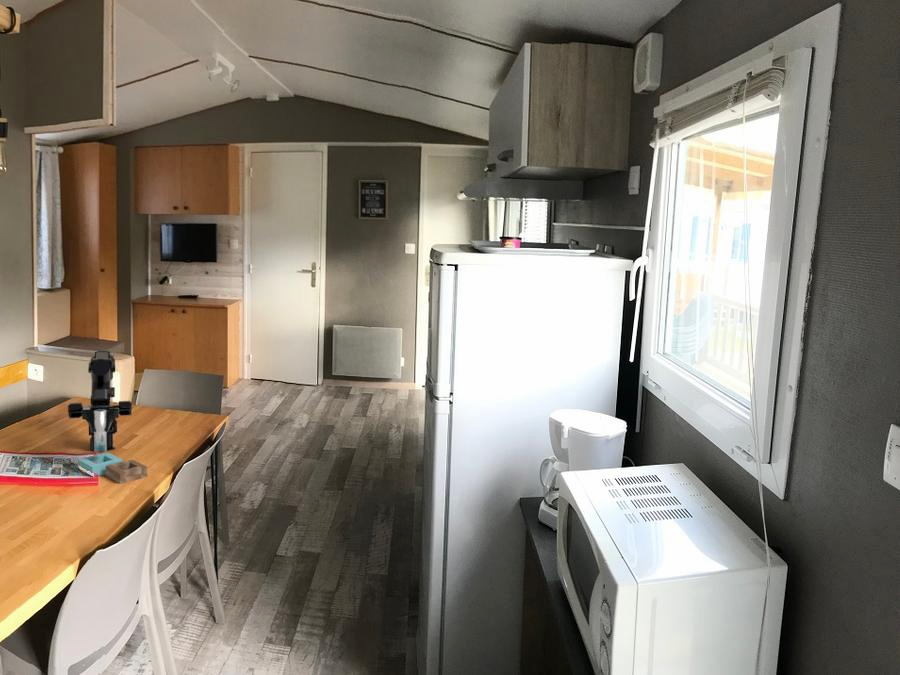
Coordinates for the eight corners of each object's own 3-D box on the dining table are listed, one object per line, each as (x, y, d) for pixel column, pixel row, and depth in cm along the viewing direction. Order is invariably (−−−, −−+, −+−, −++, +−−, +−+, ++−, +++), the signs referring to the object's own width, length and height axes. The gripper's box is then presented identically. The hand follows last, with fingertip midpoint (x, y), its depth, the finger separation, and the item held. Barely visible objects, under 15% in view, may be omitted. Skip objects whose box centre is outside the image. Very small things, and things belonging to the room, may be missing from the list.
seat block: (107, 462, 226) (107, 452, 226) (123, 469, 220) (123, 459, 220) (77, 469, 218) (77, 459, 218) (92, 477, 212) (92, 467, 212)
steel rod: (105, 448, 221) (104, 408, 219) (107, 451, 218) (107, 411, 216) (93, 450, 219) (92, 409, 216) (95, 453, 216) (95, 412, 214)
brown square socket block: (132, 469, 222) (132, 459, 221) (147, 476, 216) (147, 466, 216) (105, 476, 214) (105, 465, 214) (120, 483, 209) (120, 473, 209)
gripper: (67, 379, 214) (65, 422, 206) (131, 377, 222) (131, 418, 214) (70, 396, 222) (68, 438, 214) (131, 394, 230) (131, 434, 222)
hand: (100, 431), depth 216 cm, fingers closed on steel rod, 4 cm apart
